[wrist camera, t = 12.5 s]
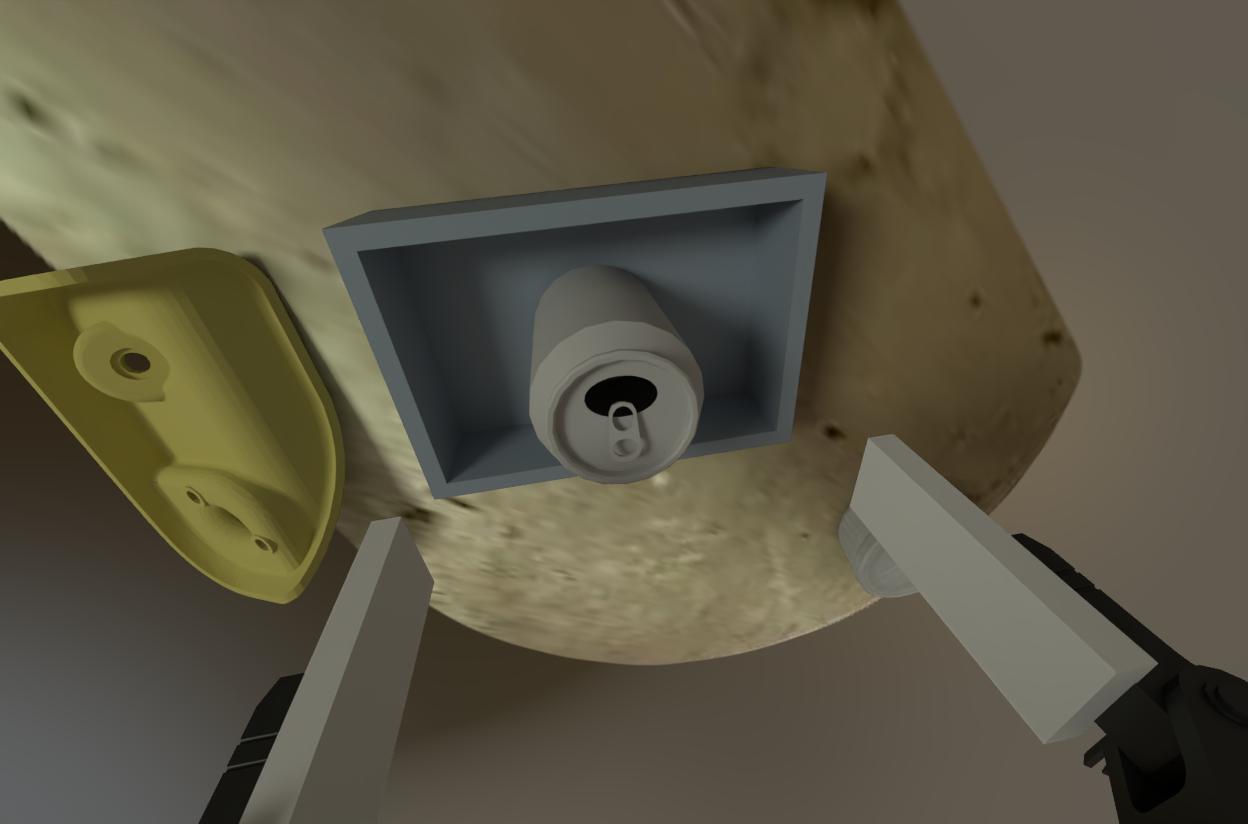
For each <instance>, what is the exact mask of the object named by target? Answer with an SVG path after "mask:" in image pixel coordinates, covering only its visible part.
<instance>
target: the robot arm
mask: <svg viewBox="0 0 1248 824" xmlns="http://www.w3.org/2000/svg"><path fill="white" fill-rule="evenodd" d="M850 508H851V509H852V510H853V511H854V512H855V514H856V515H857V516H858V517H859V519H860V520H861V521H862V522H863V523H864V525H865V526H866V527H867V528H868V530H869V531H870V532H871V533H872V534H873V536H874V537H875V538H876V539H877V541H878V542H879V543H880V544H881V545H882V547H883V548H884V549H885V550H886V552H887V553H888V554H889V555H890V557H891V558H892V559H893V560H894V561H895V563H896V564H897V565H898V566H899V568H900V569H901V570H902V571H903V572H904V574H905V575H906V576H907V577H908V579H909V580H910V581H911V582H912V583H913V585H914V586H915V587H916V588H917V590H918V591H919V592H920V593H921V594H922V596H923V597H924V598H925V599H926V601H927V602H928V603H929V604H930V605H931V607H932V608H933V609H934V610H935V611H936V613H937V614H938V615H939V616H940V617H941V619H942V620H943V621H944V623H945V624H946V625H947V626H948V627H949V629H950V630H951V631H952V632H953V633H954V635H955V636H956V637H957V638H958V639H959V641H960V642H961V643H962V645H963V646H964V647H965V648H966V649H967V651H968V652H969V653H970V654H971V656H972V657H973V658H974V659H975V661H976V662H977V663H978V664H979V665H980V667H981V668H982V669H983V670H984V672H985V673H986V674H987V675H988V676H989V678H990V679H991V680H992V681H993V683H994V684H995V685H996V686H997V687H998V689H999V690H1000V691H1001V692H1002V693H1003V695H1004V696H1005V697H1006V698H1007V700H1008V701H1009V702H1010V703H1011V705H1012V706H1013V707H1014V708H1015V709H1016V711H1017V712H1018V713H1019V714H1020V716H1021V717H1022V718H1023V719H1024V720H1025V722H1026V723H1027V724H1028V725H1029V727H1030V728H1031V729H1032V730H1033V731H1034V733H1035V734H1036V735H1037V736H1038V738H1039V739H1040V740H1041V741H1042V743H1043V744H1048V743H1051V742H1056V741H1060V740H1064V739H1069V738H1073V737H1077V736H1079V735H1080V734H1081V733H1083V732H1084V731H1085V730H1086V729H1087V728H1088V727H1089V726H1090V725H1091V724H1093V723H1094V722H1095V723H1097V725H1098V726H1099V727H1100V728H1101V729H1102V730H1103V731H1104V732H1105V733H1106V734H1107V735H1105V736H1104V737H1103V738H1102V739H1101V740H1100V741H1098V742H1097V743H1096V744H1095V745H1094V746H1093V747H1091V748H1090V749H1089V750H1088V751H1087V752H1086V753H1085V754H1084V765H1085V766H1088V767H1090V768H1092V767H1093V766H1094V765H1095V764H1097V763H1098V762H1099V761H1100V760H1102V759H1103V758H1104V757H1105V760H1106V766H1105V767H1104V769H1103V770H1102V773H1103V774H1105V775H1108V776H1109V778H1110V783H1111V788H1112V792H1113V797H1114V801H1115V806H1116V810H1117V815H1118V819H1119V824H1248V682H1246V681H1245V680H1243V679H1241V678H1238V677H1236V676H1234V675H1231V674H1229V673H1227V672H1225V671H1222V670H1219V669H1215V668H1211V667H1206V666H1202V665H1197V666H1196V665H1194V664H1192V663H1190V662H1189V661H1188V660H1186V659H1185V658H1184V657H1182V656H1181V655H1179V654H1178V653H1177V652H1175V651H1174V650H1173V649H1172V648H1171V647H1169V646H1168V645H1167V644H1166V643H1164V642H1163V641H1162V640H1161V639H1160V638H1158V637H1157V636H1156V635H1155V634H1153V633H1152V632H1151V631H1150V630H1149V629H1147V628H1146V627H1145V626H1144V625H1143V624H1141V623H1140V622H1139V621H1138V620H1137V619H1135V618H1134V617H1133V616H1132V615H1131V614H1129V613H1128V612H1127V611H1126V610H1124V609H1123V608H1122V607H1121V606H1120V605H1118V604H1117V603H1116V602H1115V601H1113V600H1112V599H1111V598H1110V597H1109V596H1107V595H1106V594H1105V593H1104V592H1102V591H1101V590H1100V589H1099V590H1097V589H1096V588H1095V586H1094V584H1093V583H1091V582H1090V581H1089V580H1088V579H1087V578H1086V577H1084V576H1083V575H1082V574H1081V573H1077V572H1075V570H1074V569H1075V568H1073V567H1072V566H1071V565H1070V564H1069V563H1067V562H1066V561H1065V560H1064V559H1062V558H1061V557H1060V556H1059V555H1058V554H1056V553H1055V552H1054V551H1053V550H1051V549H1050V548H1048V547H1046V546H1044V545H1043V544H1041V543H1039V542H1037V541H1035V540H1034V539H1032V538H1030V537H1028V536H1026V535H1024V534H1023V533H1021V534H1015V535H1010V534H1008V533H1007V532H1006V531H1005V530H1004V529H1002V528H1001V527H1000V526H999V525H998V524H997V523H996V522H994V521H993V520H992V519H991V518H990V517H989V516H988V515H986V514H985V513H984V512H983V511H982V510H981V509H979V508H978V507H977V506H976V505H975V504H974V503H973V502H971V501H970V500H969V499H968V498H967V497H966V496H964V495H963V494H962V493H961V492H960V491H959V490H957V489H956V488H955V487H954V486H953V485H952V484H951V483H949V482H948V481H947V480H946V479H945V478H944V477H942V476H941V475H940V474H939V473H938V472H937V471H936V470H934V469H933V468H932V467H931V466H930V465H929V464H927V463H926V462H925V461H924V460H923V459H922V458H920V457H919V456H918V455H917V454H916V453H915V452H914V451H912V450H911V449H910V448H909V447H908V446H907V445H905V444H904V443H903V442H902V441H901V440H900V439H899V438H897V437H896V436H895V435H894V434H889V435H883V436H877V437H871V438H868V441H867V445H866V449H865V452H864V456H863V460H862V463H861V467H860V471H859V474H858V478H857V482H856V485H855V489H854V493H853V496H852V500H851V504H850ZM433 585H434V580H433V578H432V576H431V574H430V572H429V570H428V568H427V566H426V564H425V562H424V560H423V558H422V556H421V554H420V553H419V551H418V549H417V547H416V545H415V543H414V541H413V539H412V537H411V535H410V533H409V531H408V529H407V527H406V525H405V523H404V521H403V519H402V517H401V516H400V517H394V518H389V519H383V520H377V521H371V523H370V525H369V528H368V530H367V532H366V535H365V537H364V539H363V541H362V544H361V546H360V548H359V550H358V553H357V555H356V557H355V560H354V562H353V564H352V567H351V569H350V571H349V573H348V576H347V578H346V580H345V583H344V585H343V587H342V590H341V592H340V594H339V596H338V598H337V601H336V603H335V605H334V608H333V610H332V612H331V615H330V617H329V619H328V621H327V624H326V626H325V628H324V630H323V633H322V635H321V638H320V640H319V642H318V644H317V646H316V649H315V651H314V653H313V656H312V658H311V660H310V662H309V665H308V667H307V669H306V672H305V673H302V674H296V675H291V676H286V677H281V678H280V679H279V680H278V681H277V682H276V684H275V685H274V686H273V687H272V689H271V690H270V691H269V692H268V693H267V695H266V696H265V697H264V698H263V699H262V701H261V702H260V703H259V704H258V706H257V707H256V709H255V711H254V713H253V715H252V717H251V719H250V721H249V723H248V725H247V727H246V729H245V731H244V733H243V735H242V737H241V743H240V745H238V746H237V747H236V749H235V751H234V753H233V755H232V757H231V759H230V761H229V763H228V765H227V767H228V769H227V771H226V772H225V773H223V775H222V777H221V779H220V781H219V783H218V785H217V787H216V789H215V791H214V793H213V796H212V797H211V800H210V801H209V804H208V805H207V808H206V809H205V811H204V814H203V816H202V818H201V820H200V822H199V824H376V823H377V818H378V814H379V810H380V806H381V802H382V797H383V794H384V789H385V785H386V781H387V777H388V773H389V769H390V764H391V760H392V756H393V752H394V748H395V744H396V739H397V735H398V731H399V727H400V723H401V719H402V714H403V710H404V706H405V702H406V697H407V694H408V689H409V685H410V681H411V677H412V673H413V668H414V664H415V660H416V656H417V652H418V648H419V643H420V639H421V635H422V631H423V627H424V623H425V618H426V614H427V610H428V606H429V602H430V598H431V593H432V589H433Z"/></svg>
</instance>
